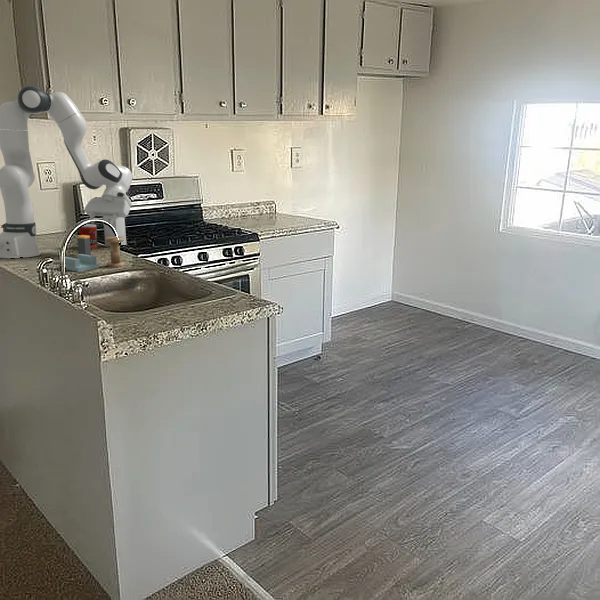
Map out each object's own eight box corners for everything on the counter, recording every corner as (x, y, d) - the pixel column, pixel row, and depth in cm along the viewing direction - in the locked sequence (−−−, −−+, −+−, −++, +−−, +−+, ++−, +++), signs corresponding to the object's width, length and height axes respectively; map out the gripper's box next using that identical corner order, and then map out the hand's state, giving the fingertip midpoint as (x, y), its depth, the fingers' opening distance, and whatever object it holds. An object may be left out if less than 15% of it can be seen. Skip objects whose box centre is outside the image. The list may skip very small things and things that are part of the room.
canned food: (92, 249, 286) (91, 226, 284) (76, 248, 288) (75, 225, 285) (100, 247, 294) (99, 224, 291) (85, 246, 295) (84, 223, 292)
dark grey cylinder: (78, 261, 257) (77, 236, 254) (84, 260, 260) (82, 235, 258) (86, 262, 256) (84, 236, 253) (91, 261, 259) (89, 235, 257)
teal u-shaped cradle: (58, 267, 244) (57, 256, 242) (79, 264, 252) (78, 253, 251) (78, 271, 237) (77, 260, 236) (99, 267, 246) (98, 256, 244)
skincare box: (126, 246, 299) (125, 214, 295) (117, 247, 293) (115, 215, 290) (114, 244, 303) (112, 212, 299) (104, 246, 297) (102, 213, 293)
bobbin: (104, 267, 248) (102, 238, 245) (110, 263, 254) (108, 236, 252) (121, 267, 247) (120, 239, 245) (127, 264, 254) (125, 237, 251)
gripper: (89, 192, 273) (76, 216, 266) (129, 194, 267) (117, 219, 260) (95, 201, 278) (83, 225, 271) (135, 204, 272) (123, 228, 265)
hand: (100, 222), depth 266 cm, fingers open, 8 cm apart
